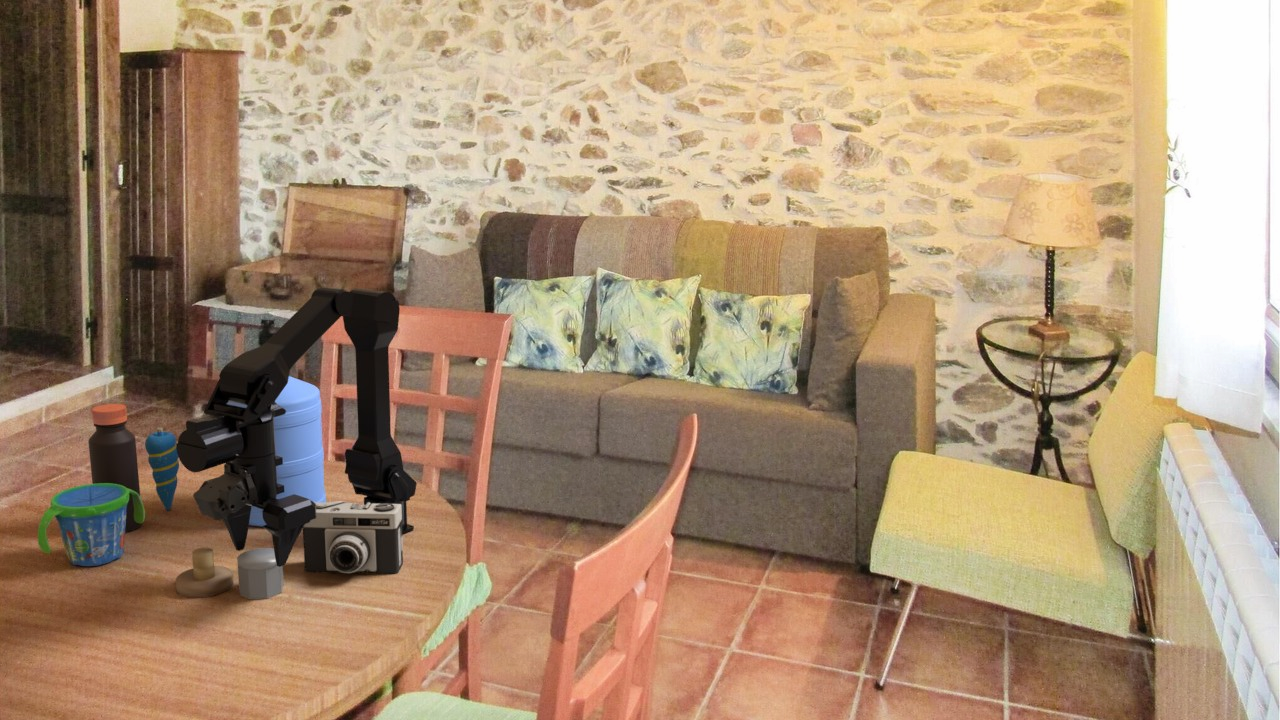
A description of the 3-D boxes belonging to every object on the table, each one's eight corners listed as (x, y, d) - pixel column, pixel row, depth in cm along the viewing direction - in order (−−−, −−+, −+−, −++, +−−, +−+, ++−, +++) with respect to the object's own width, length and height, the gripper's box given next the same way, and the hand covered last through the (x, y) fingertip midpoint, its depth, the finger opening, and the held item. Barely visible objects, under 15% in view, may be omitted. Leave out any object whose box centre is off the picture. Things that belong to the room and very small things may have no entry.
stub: (212, 570, 164) (210, 537, 163) (244, 584, 160) (242, 549, 158) (165, 588, 158) (162, 553, 157) (197, 602, 154) (194, 566, 152)
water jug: (345, 507, 190) (339, 347, 184) (271, 535, 177) (261, 365, 171) (284, 489, 198) (275, 335, 192) (209, 515, 185) (197, 351, 179)
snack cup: (57, 584, 158) (50, 517, 156) (27, 564, 165) (19, 499, 163) (163, 552, 170) (158, 489, 168) (130, 534, 177) (125, 474, 174)
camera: (295, 583, 160) (291, 518, 158) (312, 560, 168) (308, 498, 166) (392, 585, 160) (389, 520, 158) (404, 562, 168) (402, 500, 166)
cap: (266, 578, 162) (264, 544, 161) (292, 588, 158) (291, 554, 157) (230, 592, 157) (228, 557, 156) (257, 603, 154) (254, 568, 152)
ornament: (171, 516, 184) (164, 430, 181) (144, 513, 185) (136, 427, 182) (190, 506, 189) (183, 421, 186) (162, 503, 190) (156, 419, 187)
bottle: (144, 517, 184) (134, 400, 179) (140, 532, 178) (130, 411, 173) (99, 521, 182) (88, 403, 177) (93, 536, 176) (82, 414, 171)
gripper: (160, 453, 152) (169, 559, 155) (245, 481, 141) (252, 594, 145) (231, 434, 161) (238, 535, 164) (316, 459, 150) (321, 567, 154)
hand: (260, 557), depth 157 cm, fingers open, 9 cm apart
